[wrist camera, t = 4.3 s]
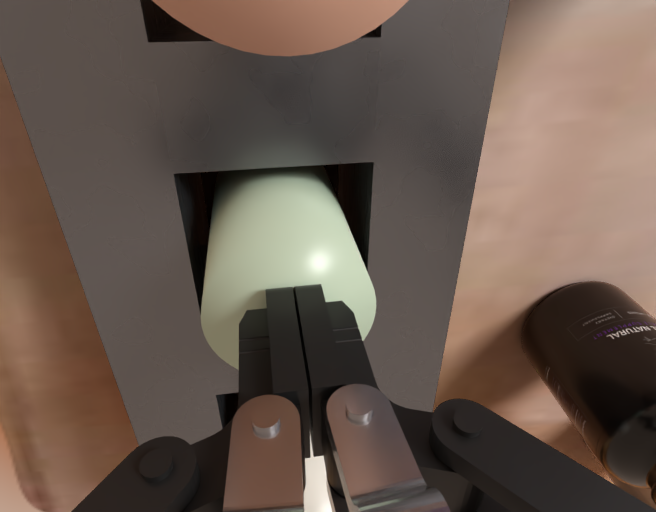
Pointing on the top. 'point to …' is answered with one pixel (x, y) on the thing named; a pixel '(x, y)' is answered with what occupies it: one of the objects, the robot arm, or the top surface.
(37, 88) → the three peg holder
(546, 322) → the supplement bottle
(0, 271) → the top surface
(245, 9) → the peach rounded peg
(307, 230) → the pale green rounded peg
